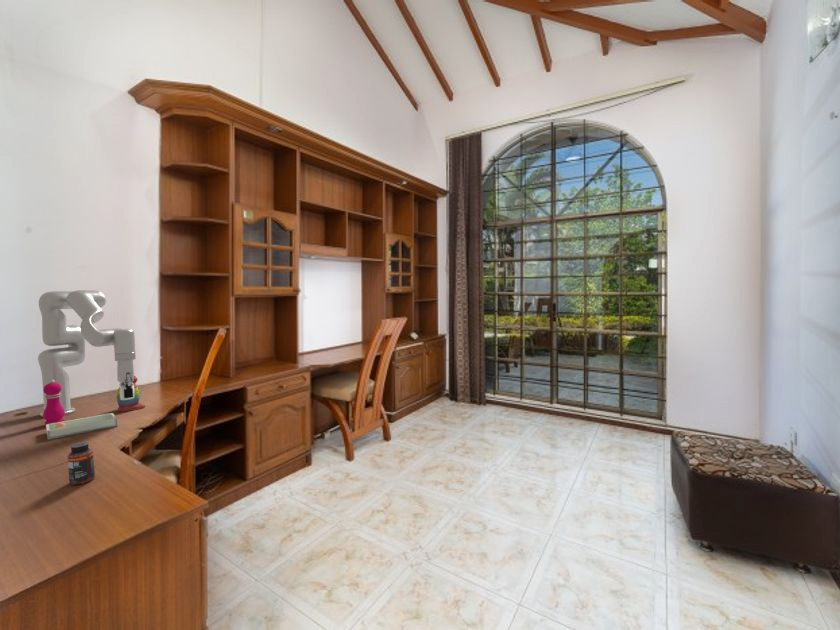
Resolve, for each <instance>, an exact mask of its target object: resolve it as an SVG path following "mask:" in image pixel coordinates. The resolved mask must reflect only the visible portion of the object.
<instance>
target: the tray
mask: <svg viewBox="0 0 840 630" xmlns="http://www.w3.org/2000/svg"><path fill="white" fill-rule="evenodd" d="M58 423H60V422H58ZM58 423H52V424H46V426H45V428H46V429H45V430H46V438H47V440H48V441H49V440H55V439H59V438H65V437H68V436H70V437H71V436H74V435H79V434H80V435H81V434H85V433H91V432H95V431H100V430H106V429H110V428H111V429H112V428H117V427H118V418H117V417H116V415H115V414H114V412H110V413H103V414H99V415H93V416H86V417H81V418H76V419H71V420H69V419H68V420H64V421H63V423H65V425H66V427H65V428H59V429H56V428H55V426H56V424H58Z"/></svg>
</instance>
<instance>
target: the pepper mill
mask: <svg viewBox="0 0 840 630" xmlns="http://www.w3.org/2000/svg"><path fill="white" fill-rule="evenodd" d="M54 382H55V380H50V384H47V385H45V387H44V388H43V387H42V392H43V391H44V393H45V394H46V395H45V396H46V397H45V398H47V406H46V408H45V410H44V409H43V412H44V413H43V417H42V418H43V419H44V420H45V421H44V426H45V427H46V424H52V423H58V422H63V421H65V419H64V416H66V414H65V410H64V408H63V407H62V406H61V404H60V400H59V399H60V396H61V395H60V394H61V393H59V392H60V391H61V390H62V387H61V385H60V384H58V383H54Z"/></svg>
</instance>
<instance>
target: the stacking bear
mask: <svg viewBox="0 0 840 630" xmlns="http://www.w3.org/2000/svg"><path fill="white" fill-rule="evenodd" d="M137 382H138V377H136V376H135V375H134V381H133V383H134V395H135V398H133V399H129V400H120V386H119V387H118V389H117V392H116V402H117V405H118V408H117V411H118V412H130V411H131V412H132V411H137V410H141V409H144V408H146V406H145V404H144V403H140V397H141V396H140V395H141V394H140V390H139V387H138V385H137V384H136V383H137ZM119 384H122V383H120V382H119Z"/></svg>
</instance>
